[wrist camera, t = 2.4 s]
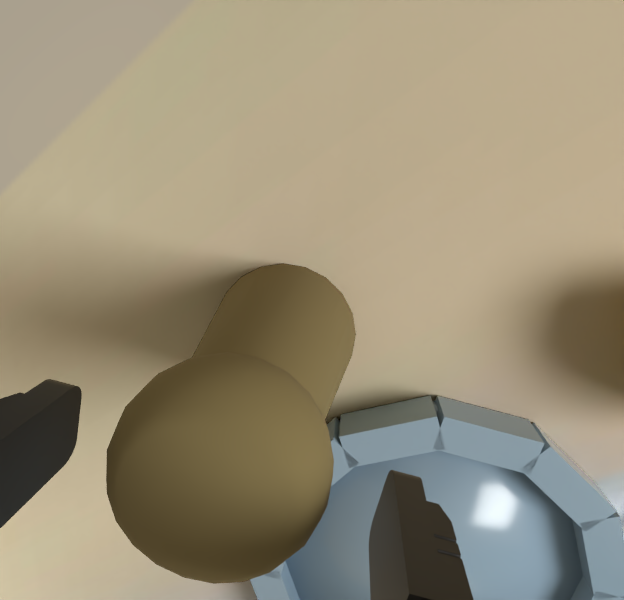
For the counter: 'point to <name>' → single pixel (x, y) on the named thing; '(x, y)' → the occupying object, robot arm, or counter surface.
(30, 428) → the robot arm
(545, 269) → the counter surface
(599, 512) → the round dish
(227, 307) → the tan pawn shape
